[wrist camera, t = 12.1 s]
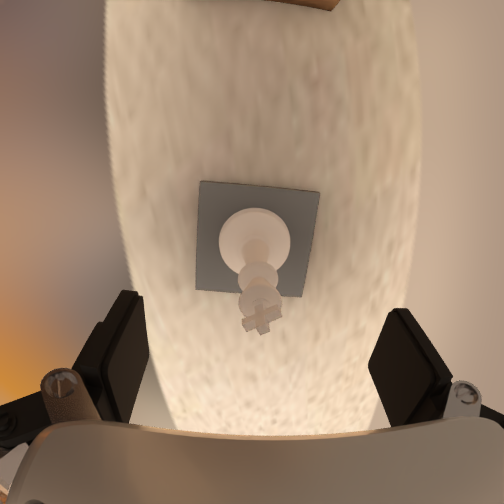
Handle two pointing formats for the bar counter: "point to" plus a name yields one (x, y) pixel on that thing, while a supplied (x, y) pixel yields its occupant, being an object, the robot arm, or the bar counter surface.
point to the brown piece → (313, 3)
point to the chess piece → (256, 262)
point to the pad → (253, 196)
